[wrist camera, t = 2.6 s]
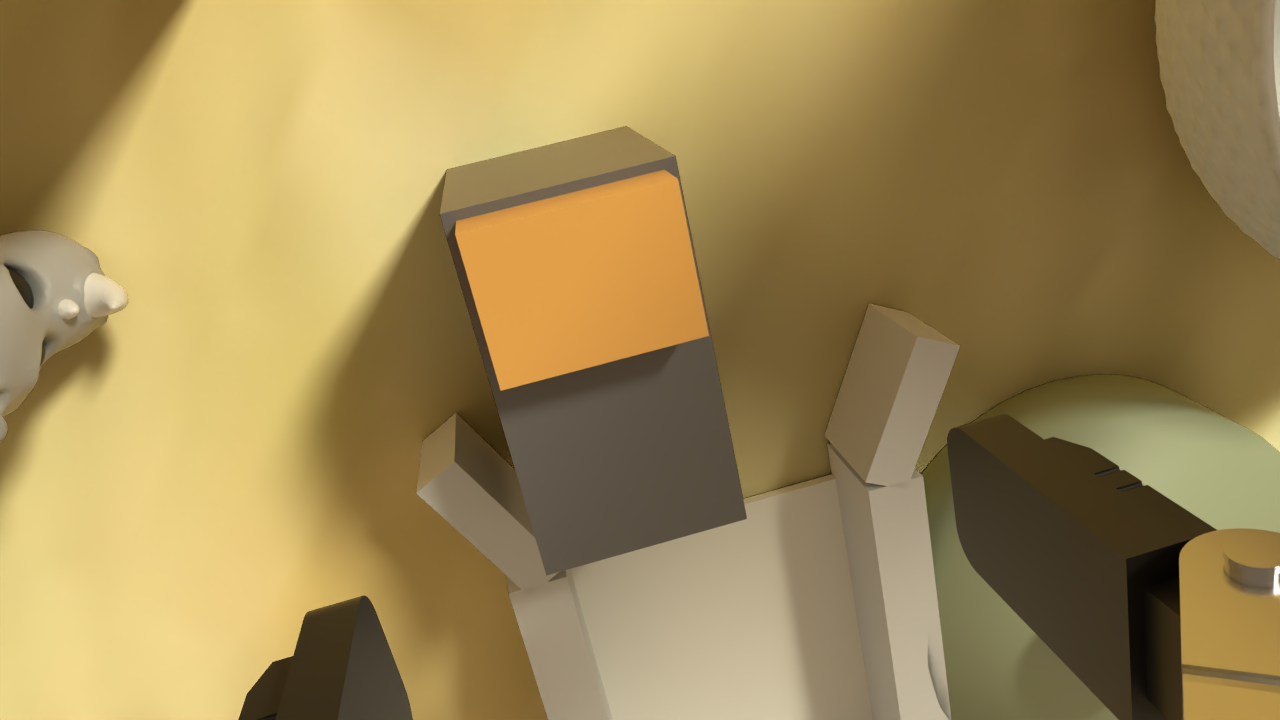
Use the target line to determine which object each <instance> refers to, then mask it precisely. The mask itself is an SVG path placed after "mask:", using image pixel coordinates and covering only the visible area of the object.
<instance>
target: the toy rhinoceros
mask: <svg viewBox="0 0 1280 720" xmlns="http://www.w3.org/2000/svg"><path fill="white" fill-rule="evenodd" d="M127 304H128V295H127V293H126V291H125V290H124V289H123V288H122V287H121V286H120V285H119V284H118V283H116V282H115V281H113V280H111V279H110V278H108V277H106V276H105V275H104V274H103V272H102V270H101V268H100V265H99V260H98V257H97V256H96V255H95V254H94V253H93V252H92V251H91V250H89V249H87V248H86V247H83V246H81V245H80V244H79V243H77V242H75V241H73V240H71V239H69V238H67V237H65V236H63V235H60V234H57V233H54V232H49V231H43V230H32V231H20V232H13V233H9V234H4V235H0V441H2V440H3V439H4V438H5V437H6V434H7V431H8V425H7V423H6V421H5V419H4V418H3V417H5V416H6V415H8V414H10V413H11V412H13V411H14V410H16V409H17V408H18V407H19V406H20V404H21V403H22V402H23V401H24V399H25V398H26V397H27V395H28V394H29V393H30V392H31V391H32V389H33V388H34V386H35V385H36V383H37V381H38V377H39V370H40V368H41V367H42V365H43V364H44V363H45V362H46V361H47V360H48V359H49V358H50V357H51V356H53V355H54V354H55V353H57V352H59V351H61V350H64V349H66V348H68V347H71V346H73V345H75V344H77V343H78V342H80V341H81V340H83V339H84V338H86V337H87V336H88V335H89V334H90V333H91V332H93V331H94V330H95V329H96V328H97V327H99V326H101V325H103V324H105V323H106V321H107V319H108V315H110V314H113V313H116V312H118V311H121V310H123V309H124V308H125V307H126V306H127Z"/></svg>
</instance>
